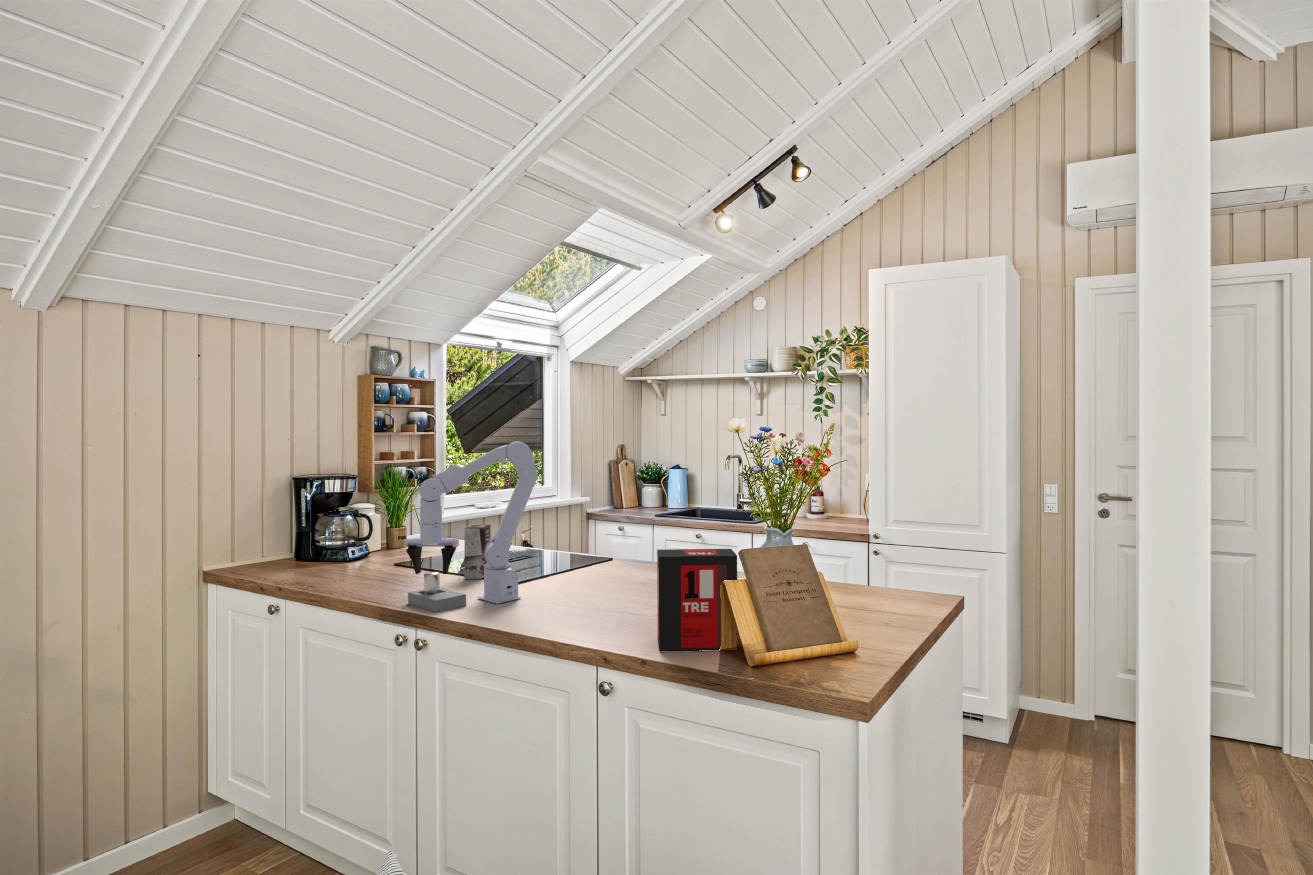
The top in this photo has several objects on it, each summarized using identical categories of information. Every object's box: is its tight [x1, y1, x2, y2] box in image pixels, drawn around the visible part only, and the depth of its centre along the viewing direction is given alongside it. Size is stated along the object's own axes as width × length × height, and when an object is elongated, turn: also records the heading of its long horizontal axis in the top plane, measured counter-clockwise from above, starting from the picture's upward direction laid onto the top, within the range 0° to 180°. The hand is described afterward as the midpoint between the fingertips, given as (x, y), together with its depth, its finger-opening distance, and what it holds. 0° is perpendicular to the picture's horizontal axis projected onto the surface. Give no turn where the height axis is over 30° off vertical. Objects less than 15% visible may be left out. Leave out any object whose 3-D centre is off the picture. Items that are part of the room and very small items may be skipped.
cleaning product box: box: [656, 548, 738, 652], centre depth 151 cm, size 16×9×20 cm, turn 92°
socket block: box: [407, 586, 467, 613], centre depth 188 cm, size 14×9×3 cm, turn 48°
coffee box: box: [464, 524, 492, 580], centre depth 225 cm, size 9×6×16 cm
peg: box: [423, 571, 441, 595], centre depth 190 cm, size 4×4×8 cm
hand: (431, 573), depth 190 cm, fingers open, 7 cm apart
